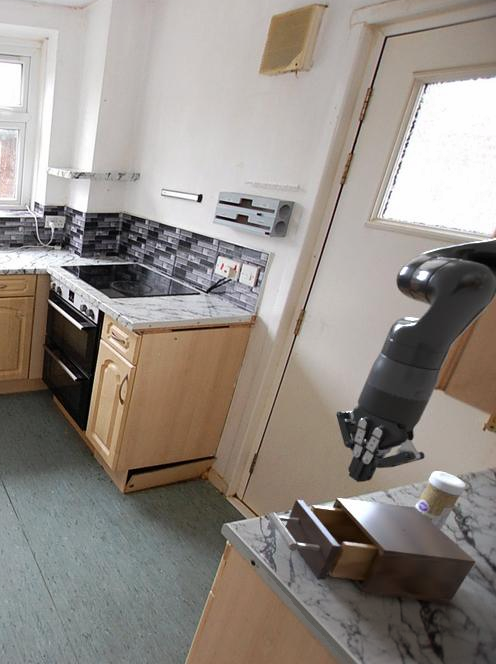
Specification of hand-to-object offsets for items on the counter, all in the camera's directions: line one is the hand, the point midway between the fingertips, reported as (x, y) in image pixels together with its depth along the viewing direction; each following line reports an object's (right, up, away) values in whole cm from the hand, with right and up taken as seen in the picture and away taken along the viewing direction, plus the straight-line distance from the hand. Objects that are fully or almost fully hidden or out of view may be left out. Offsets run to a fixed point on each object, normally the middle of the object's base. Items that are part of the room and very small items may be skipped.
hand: (357, 478), depth 76 cm
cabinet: (+7, -17, +3) cm, 18 cm away
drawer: (-3, -15, +4) cm, 16 cm away
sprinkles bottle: (+21, -15, +12) cm, 29 cm away
